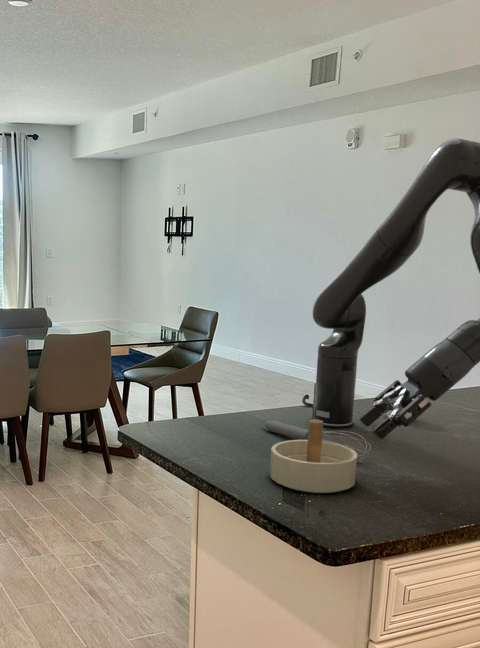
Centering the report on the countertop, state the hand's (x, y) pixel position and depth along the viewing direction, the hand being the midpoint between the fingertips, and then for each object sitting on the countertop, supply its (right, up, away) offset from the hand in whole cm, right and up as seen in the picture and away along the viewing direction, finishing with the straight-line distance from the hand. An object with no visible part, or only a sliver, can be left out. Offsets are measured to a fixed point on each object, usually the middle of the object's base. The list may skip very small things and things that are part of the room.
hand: (369, 429), depth 133 cm
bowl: (-10, -10, +3) cm, 15 cm away
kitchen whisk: (-3, -5, +25) cm, 25 cm away
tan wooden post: (-10, -10, +3) cm, 14 cm away
